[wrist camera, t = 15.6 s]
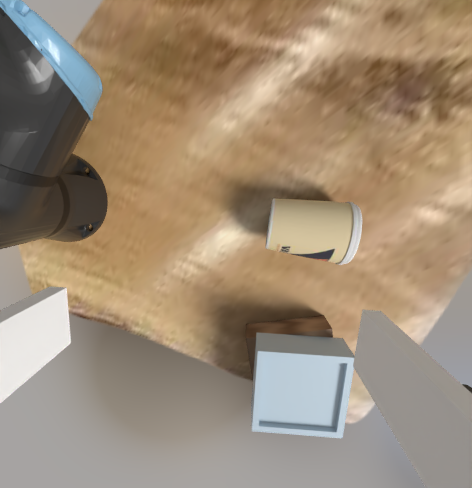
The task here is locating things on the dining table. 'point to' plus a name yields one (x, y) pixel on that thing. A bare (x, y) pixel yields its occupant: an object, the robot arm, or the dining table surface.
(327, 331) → the block bottom
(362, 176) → the dining table surface
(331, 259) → the coffee cup
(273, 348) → the block top
